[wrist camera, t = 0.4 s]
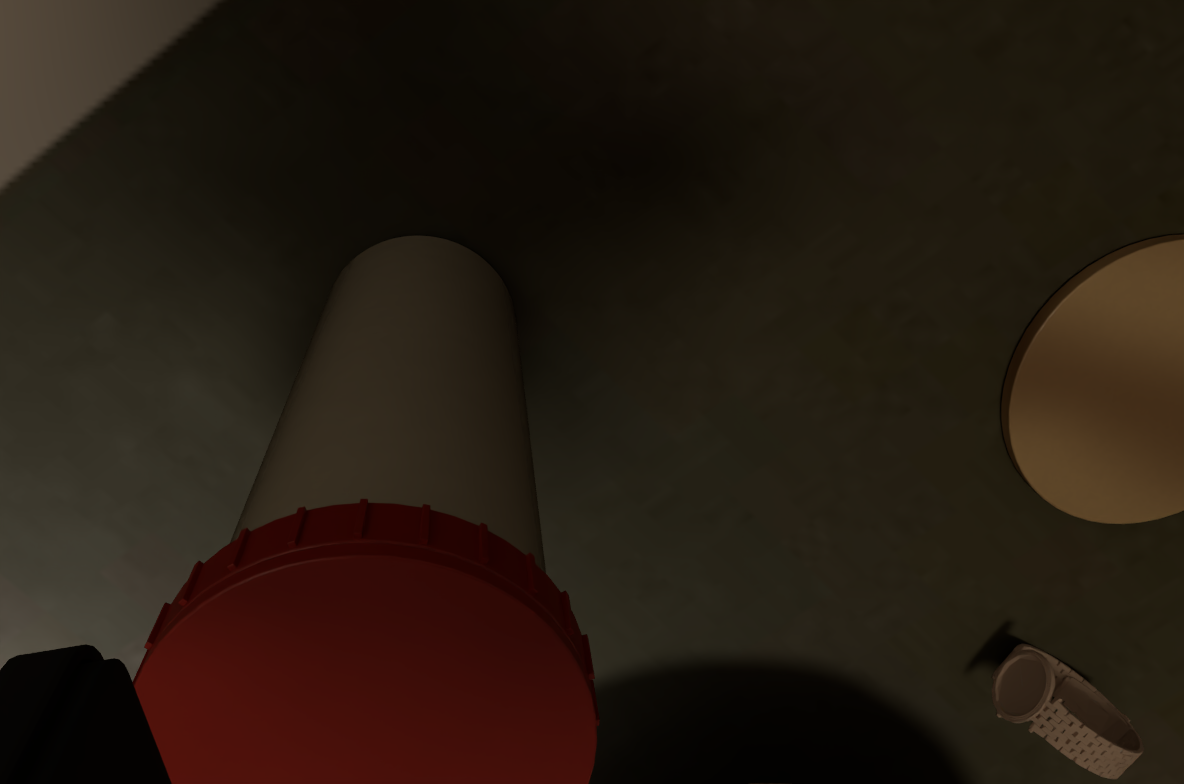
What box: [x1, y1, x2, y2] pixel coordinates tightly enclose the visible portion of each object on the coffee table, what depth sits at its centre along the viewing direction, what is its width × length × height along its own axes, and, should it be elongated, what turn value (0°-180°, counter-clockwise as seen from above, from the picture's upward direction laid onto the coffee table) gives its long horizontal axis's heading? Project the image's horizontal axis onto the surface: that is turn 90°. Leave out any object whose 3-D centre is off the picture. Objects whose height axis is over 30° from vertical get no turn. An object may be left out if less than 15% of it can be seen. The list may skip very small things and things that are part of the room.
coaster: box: [1001, 234, 1184, 524], centre depth 34 cm, size 10×10×1 cm
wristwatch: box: [992, 644, 1144, 779], centre depth 36 cm, size 3×5×5 cm, turn 58°
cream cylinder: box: [230, 235, 546, 573], centre depth 23 cm, size 6×6×17 cm
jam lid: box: [132, 499, 600, 784], centre depth 15 cm, size 7×7×1 cm
